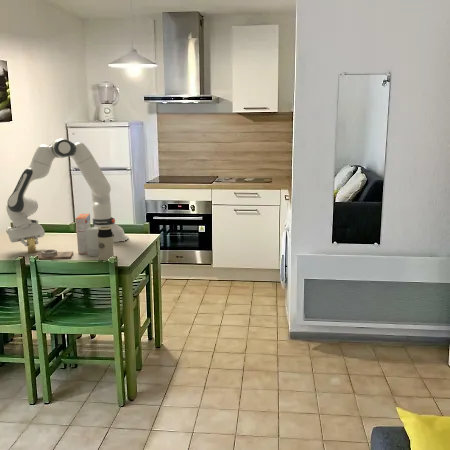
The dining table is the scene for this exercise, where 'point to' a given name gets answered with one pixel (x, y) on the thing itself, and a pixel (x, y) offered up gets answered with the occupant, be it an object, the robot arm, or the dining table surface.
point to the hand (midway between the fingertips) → (32, 244)
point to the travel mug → (105, 242)
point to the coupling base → (62, 254)
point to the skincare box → (92, 241)
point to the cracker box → (82, 232)
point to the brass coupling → (31, 245)
